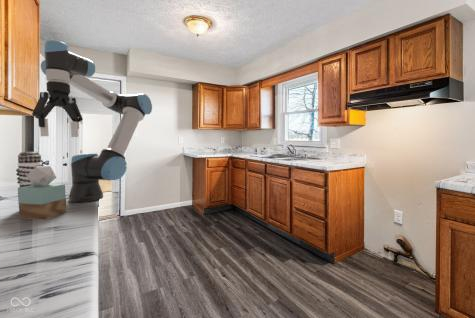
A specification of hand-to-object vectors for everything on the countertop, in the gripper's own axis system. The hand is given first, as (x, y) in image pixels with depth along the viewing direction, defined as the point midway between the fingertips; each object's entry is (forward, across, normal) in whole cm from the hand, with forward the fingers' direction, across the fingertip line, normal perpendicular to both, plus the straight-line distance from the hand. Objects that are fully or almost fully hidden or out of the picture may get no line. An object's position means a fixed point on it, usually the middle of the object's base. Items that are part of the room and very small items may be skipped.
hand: (60, 136), depth 99 cm
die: (+20, +3, -7) cm, 21 cm away
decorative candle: (+32, -3, -19) cm, 37 cm away
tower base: (+32, +3, -6) cm, 32 cm away
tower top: (+26, +3, -7) cm, 27 cm away
